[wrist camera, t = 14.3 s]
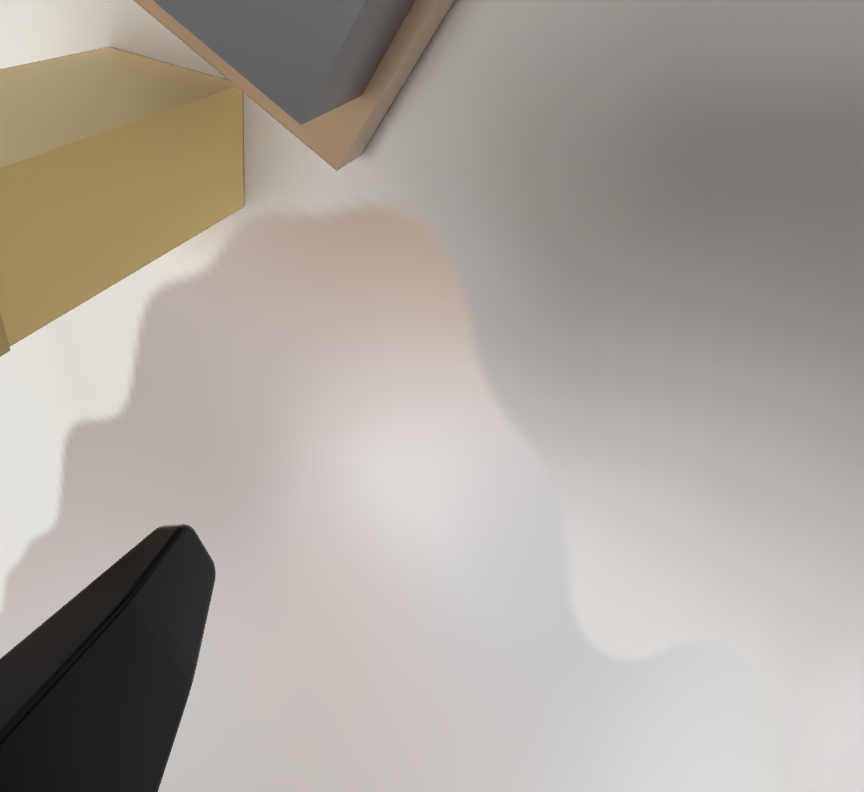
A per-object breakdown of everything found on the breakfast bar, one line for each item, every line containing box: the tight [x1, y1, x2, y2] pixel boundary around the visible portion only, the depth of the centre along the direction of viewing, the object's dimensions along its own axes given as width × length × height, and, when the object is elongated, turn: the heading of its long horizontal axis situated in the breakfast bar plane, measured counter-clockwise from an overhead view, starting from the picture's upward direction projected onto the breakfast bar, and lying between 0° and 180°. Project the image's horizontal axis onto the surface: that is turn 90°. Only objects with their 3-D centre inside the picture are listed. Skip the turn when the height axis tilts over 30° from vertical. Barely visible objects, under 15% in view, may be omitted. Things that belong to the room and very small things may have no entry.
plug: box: [0, 47, 244, 356], centre depth 17 cm, size 4×4×10 cm
